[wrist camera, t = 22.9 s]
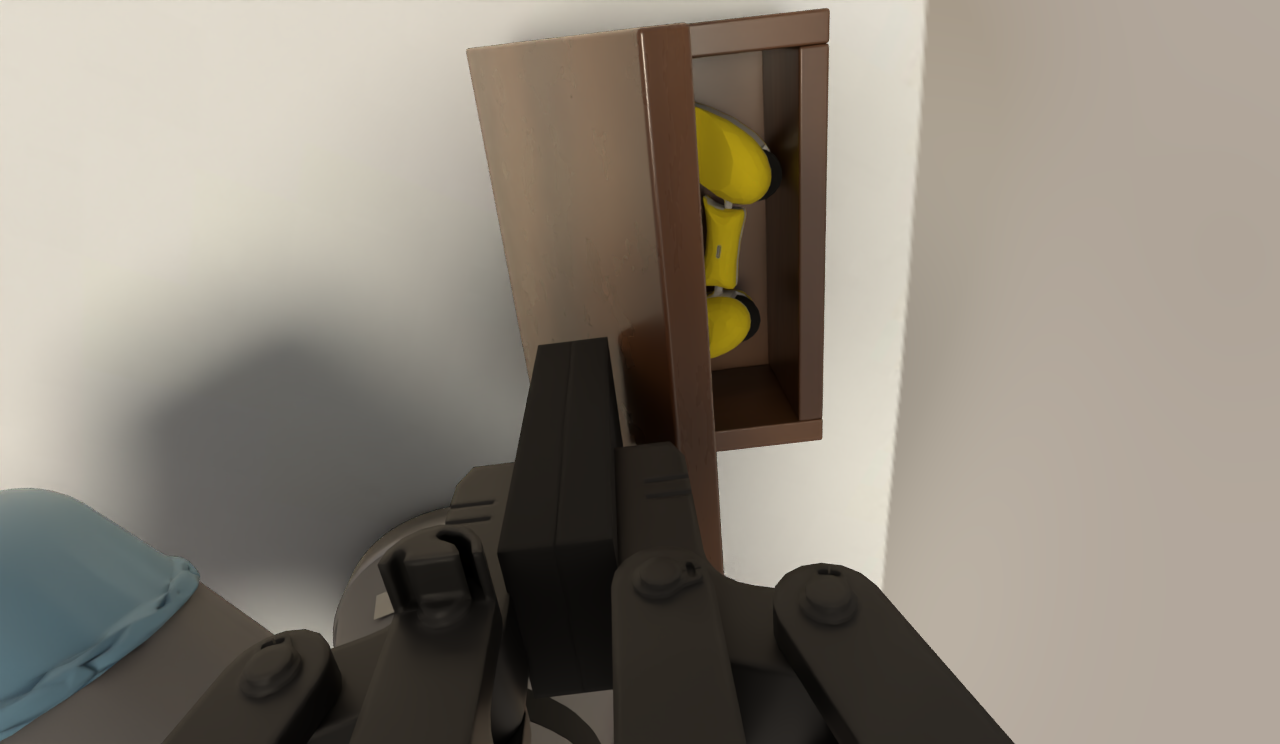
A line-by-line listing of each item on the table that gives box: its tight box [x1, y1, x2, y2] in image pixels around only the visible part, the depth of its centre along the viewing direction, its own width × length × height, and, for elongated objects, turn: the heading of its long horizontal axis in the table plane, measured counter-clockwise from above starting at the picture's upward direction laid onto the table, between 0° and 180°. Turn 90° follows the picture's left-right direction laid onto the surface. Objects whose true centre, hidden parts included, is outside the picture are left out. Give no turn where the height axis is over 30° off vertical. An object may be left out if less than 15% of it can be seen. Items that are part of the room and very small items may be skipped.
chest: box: [688, 8, 830, 452], centre depth 25 cm, size 10×14×6 cm
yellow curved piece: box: [695, 102, 782, 359], centre depth 26 cm, size 10×6×4 cm, turn 177°
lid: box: [466, 23, 724, 575], centre depth 18 cm, size 11×14×1 cm
